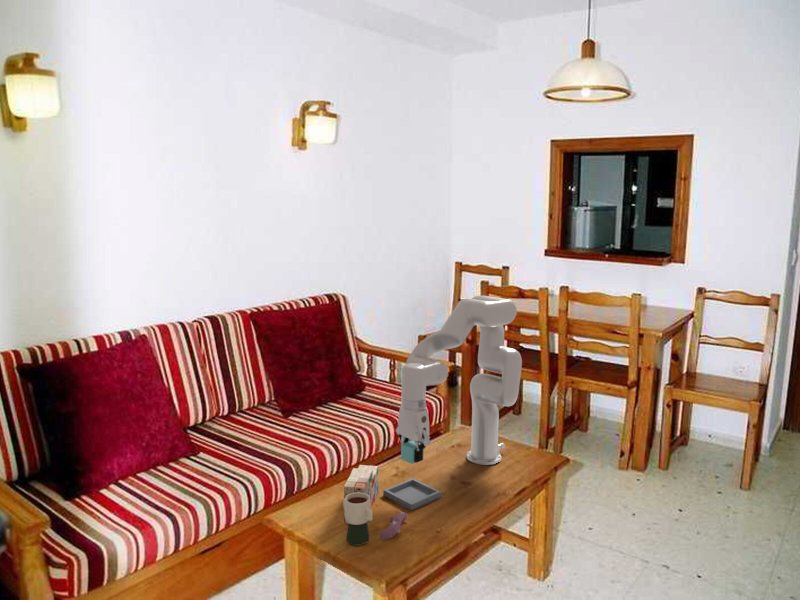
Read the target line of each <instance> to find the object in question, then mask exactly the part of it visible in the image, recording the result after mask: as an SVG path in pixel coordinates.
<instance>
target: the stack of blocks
mask: <svg viewBox="0 0 800 600" xmlns="http://www.w3.org/2000/svg"><path fill="white" fill-rule="evenodd" d="M356 492H362V493H366V494H368V495H369V496H370V504H371V508H372V509H373V507H372V506H374V504H375V501H376V500H377V497H378V495H379V466H378V465H365V464H359V465H358V468H355V467H353V468H352V470H351V472H350V475H349V477H348V478H347V480H346V482H345V483H344V485H343V499H344V498H345V497H346V496H347V495H348V494H351V493H356ZM373 503H374V504H373ZM343 510H344V511H343V524H344V525H348V524H349V523H348V522H346V520H345V509H344V508H343Z"/></svg>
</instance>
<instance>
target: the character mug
mask: <svg viewBox="0 0 800 600" xmlns="http://www.w3.org/2000/svg"><path fill="white" fill-rule="evenodd" d="M342 506H343V510H344V509H345V520H346V522H348V523H349V524H347V529H346V530H347V531H346V538H345V539H346V542H347V543H348V544H350V545H352V546H358V545H363V544H365V543H368V542H369V540H370V537H369V536H370V535H369V528H368V526H369V525H368V522H372V521H373V510H372V509H371V504H370V496H369V495H368V494H366V493H362V492H356V493H351V494H348V495H347V496H346V497H345V498H344V497H343V501H342Z"/></svg>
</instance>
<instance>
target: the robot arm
mask: <svg viewBox="0 0 800 600" xmlns="http://www.w3.org/2000/svg"><path fill="white" fill-rule="evenodd" d="M517 312H518V310H517V306H516V304H515V302H514V301H513V300H511V299H508V298H501V297H495V296H489V295H475V296H473V297H472V298H463V299H461V300H460V301H458V302H457V304H456V305H455V307H454V309H453V310H452V312H451V313H450V315H449V316H448V318H447V320H446V321H445V323H444V324H443V325H442V327H441V328H440V329H439V330H438V331H436V332H434V333H432V334H430V335H428V336H427V337H425V338H424V339H422V340H421V341H419V342H418V343H417V345H416V346H415V347H414V348H413V349H412V351H411V353H410V355H409V356H408V357H407V360H406V361H405V364H404V365H403V366H402V368H401V395H400V397H401V398H400V399H401V400H400V401H401V402H400V404H401V405H400V407H399V411H398V420H397V427H396V429H395V432H396V434H397V435H398V438H399V440H400V445H401V444H403V443H406V442H409V441H412V440H413V441H415V447H416V450H415V456H414V462H416V463H420V462H423V460H424V455H423V449H424V450H425V448H426V447H427V446H429V445H431V443H432V442H431V440H430V420H429V412H428V408H427V403H426V395H427V394H426V392H427V386H438V385H441V384H442V383H444V382H445V381H446V380H447V378H448V377H449V369H448V366H447V365H446V364H445V363H444V362H442V361H440V360H436V359H432V358H430V357H431V356H432V355H435V354H436V353H438V352H441V351H444V350H445V351H446V350H450V349H451V350H452V349H454V348H457V347H461V346H462V345H463V344H464V342H465V341H466V339H467V337H468V335H469V334H470V333H471V331H472V329H473V328H474V327H475V326H479V330H480V334H479V343H478V344H479V345H478V352H477V364H478V366H479V368H480V369H482V370H485V371H488V372H493V373H497V374H501V376H498V375H494V374H489V373H477V374H476V375H474V376H473V377H472V378H471V381H470V384H469V391H470V398H471V406H472V407H471V408H472V409H471V413H472V414H471V439H470V441H471V443H470V444H471V445H470V446H471V447H470V450H469V451H467V452H466V459H467V460H468V461H469V462H470V463H472V464H475V465H476V464H477V465H481V466H492V465H496V463H497V464H498V462H499V463H500V462H501V461H502V455H501V453H500V450H502V449H504V448H505V447H506V444H505V443H504V442H500V443H498V442H499V417H500V416H499V415H500V413H499V412H500V411H499V409H498V405H499V406H503V407H511V406H513V405H515V403H516V401H517V399H518V397H519V391H520V383H521V376H522V368H523V367H522V365H523V359H522V355H521V353H520V351H518V350H517V349H515V348H511V347H508V346H505V344H504V343H505V328H504V326H505V325H509V324H511V323H512V322H513V321H514V320H515V319H516V316H517V314H518V313H517ZM419 443H420V445H419ZM416 463H415V464H416Z"/></svg>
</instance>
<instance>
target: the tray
mask: <svg viewBox="0 0 800 600" xmlns="http://www.w3.org/2000/svg"><path fill="white" fill-rule="evenodd" d="M382 492H383V495H382V496H383V497H384V498H386V499H388V500H390V501H392V502H394V503H395V504H398V505H399V506H401V507H404V508H405V509H407V510H409V511H411V512H412V511H414V510H416V509H419V508H421V507H423V506H425V505H428V504H431V503H432V502H435V501H436V500H438V499H440V498H442V491H441V490H440V489H437V488H434V487H432V486H431V485H428V484H426V483H424V482H422V481H420V480H418V479H417V478H414V477H411V478H409V479H407V480H405V481H403V482H399V483H397V484H395V485H393V486H390V487H387V488H386V489H383V491H382Z"/></svg>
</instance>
